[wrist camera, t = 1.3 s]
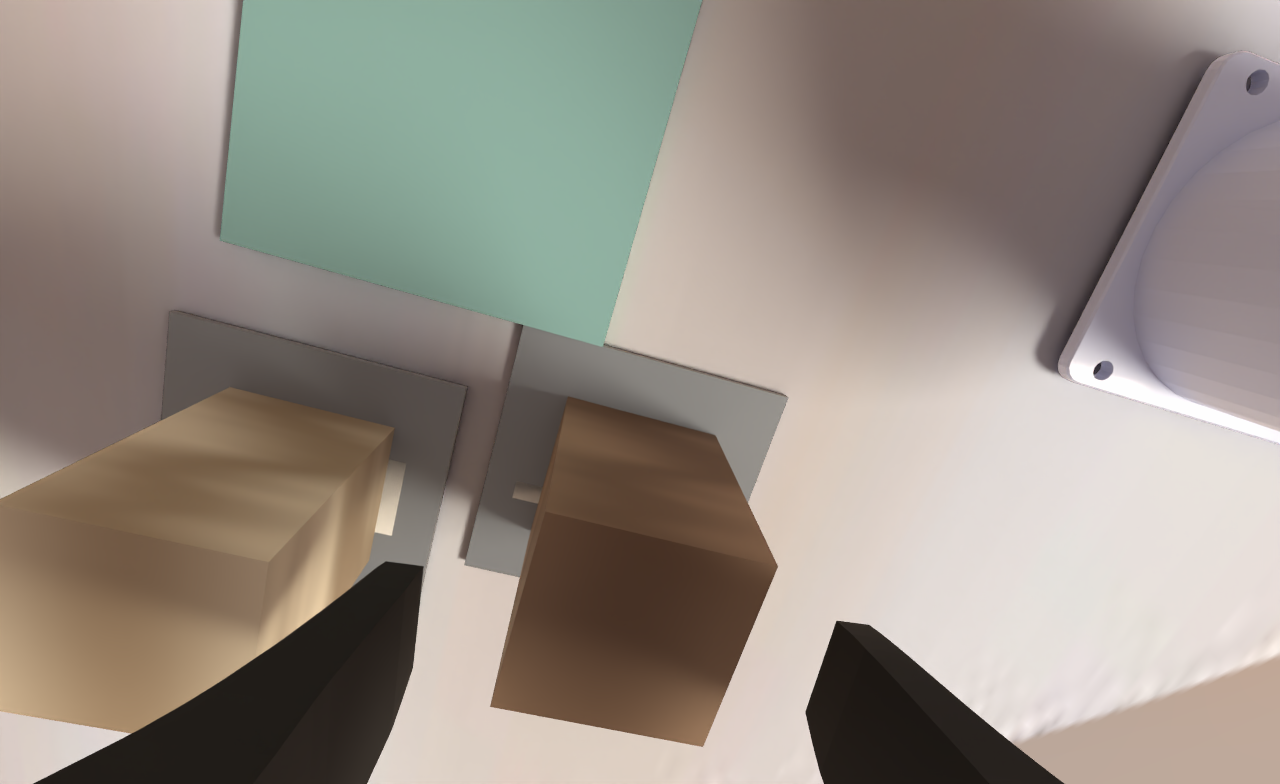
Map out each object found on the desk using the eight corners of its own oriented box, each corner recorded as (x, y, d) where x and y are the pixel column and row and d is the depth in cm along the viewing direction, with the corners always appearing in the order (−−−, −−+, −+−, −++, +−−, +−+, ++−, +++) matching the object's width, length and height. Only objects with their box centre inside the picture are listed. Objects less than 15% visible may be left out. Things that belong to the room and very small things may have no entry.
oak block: (394, 427, 15) (269, 562, 10) (369, 560, 16) (242, 751, 11) (229, 387, 15) (-10, 503, 9) (214, 527, 16) (-8, 710, 10)
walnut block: (715, 435, 16) (777, 566, 10) (670, 563, 17) (702, 746, 11) (568, 396, 15) (545, 511, 10) (530, 530, 16) (489, 706, 11)
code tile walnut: (785, 395, 16) (788, 397, 16) (702, 613, 18) (703, 617, 18) (524, 322, 15) (523, 324, 15) (465, 560, 17) (464, 564, 17)
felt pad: (717, -57, 13) (720, -63, 12) (602, 344, 15) (602, 347, 15) (274, -227, 11) (266, -238, 11) (227, 239, 14) (219, 240, 14)
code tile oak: (467, 386, 15) (465, 388, 15) (416, 612, 17) (414, 616, 17) (175, 310, 14) (169, 312, 14) (155, 558, 16) (150, 562, 16)
